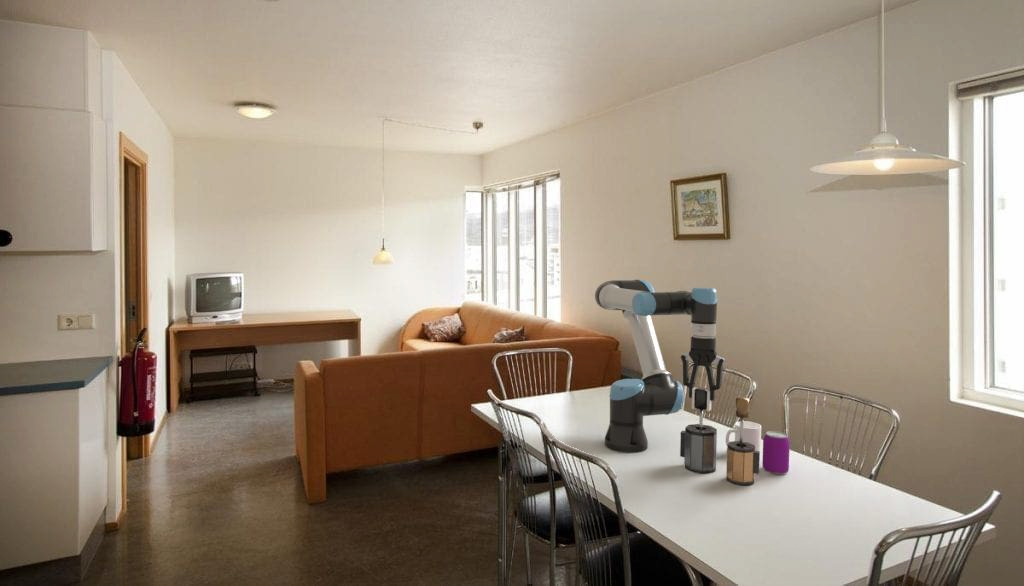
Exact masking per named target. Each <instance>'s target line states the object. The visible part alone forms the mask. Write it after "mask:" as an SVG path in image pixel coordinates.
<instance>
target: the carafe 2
mask: <svg viewBox="0 0 1024 586" xmlns="http://www.w3.org/2000/svg"><path fill="white" fill-rule="evenodd" d="M760 455H761V451H760V452H759V451H755V446H754V445H752V444H750V443H748V442H743V447H740V441H735V440H733V441H729V443H728V444H727V445H726V471H725V472H726V474H725V475H726V477H725V478H726V479H725V480H726V481H727V482H729V483H730V484H732V485H735V486H740V487H741V486H744V487H746V486H753V485H754V484H755V475H759V474H760V459H761V458H760Z"/></svg>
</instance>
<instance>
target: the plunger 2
mask: <svg viewBox="0 0 1024 586" xmlns="http://www.w3.org/2000/svg"><path fill="white" fill-rule="evenodd" d="M735 417H737V418H740V419H739V420H740V421H739V422H740V447H743V422H744V419H746V418H749V417H750V397H748V396H736V397H735Z"/></svg>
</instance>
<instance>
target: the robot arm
mask: <svg viewBox="0 0 1024 586" xmlns="http://www.w3.org/2000/svg"><path fill="white" fill-rule="evenodd" d="M594 299H595V302H596V304H597V305H598V307H599V308H601V309H604V310H608V311H621V312H622V315H623V317H624V318H625V319H627V320H628V323H629V326H630V327H629V328H630V330H631V334H632V339H633V342H634V345H635V350H636V353H637V357H638V360H639V365H640V369H641V372H642V377H641V379H639V378H623V379H619V380H616V381H614V382H613V383H612V384H611V385H610V388H609V389H610V390H609V391H610V392H609V424H608V428H607V430H606V434H605V435H604V436H605V437H604V446H605V448H607V449H609V450H612V451H615V452H620V453H631V454H632V453H641V452H643V451H646V450H647V449H648V448H649V447H648V446H649V445H648V444H649V440H648V438H647V433H646V431H645V427H644V417H647V416H648V417H650V416H660V415H666V416H668V415H670V414H676V413H678V412H680V410H681V409H682V407H683V404H684V399H685V393H684V387H683V386H685V387H688V398H690V399H691V410H695V409H696V408H695V389H696V388H698V387H695V386H696V385H695V384H696V381H697V376H698V372H699V369H700V367H701V366H702V367H704V368H705V370H706V371H705V372H706V376H707V383H708V387H709V389H708V391H707V409H706V412H710V411H711V410H712V401H714V400H715V399H716V391H717V390H720V389H721V388H722V385H723V384H722V383H723V382H722V381H723V369H724V368H723V367H724V364H725V361H726V358H725V357H721V356H719V355H718V354H717V351H716V345H717V343H716V342H717V340H716V339H717V338H716V337H715V336H716V335H717V310H718V309H717V307H718V297H717V289H716V288H714V287H704V286H702V287H701V286H698V287H697V286H696V287H694V288H692V290H691V292H690V291H687V290H677V291H665V292H663V291H662V292H655V288H654V287H653V285H652V284H651V283H650V282H649V281H647V280H645V279H644V280H643V279H634V280H632V279H628V280H627V279H626V280H614V279H613V280H607V281H605V282H602V283H601V284H599V286H598V287H597V288H596V290H595V291H594ZM677 315H679V316H680V315H681V316H682V315H683V316H684V315H687V316H691V317H690V318H691V321H690V324H691V325H690V335H691V336H690V350H689V352H688V353H684V354H681V355H680V359H681V361H682V382H683V383H682V384H683V385H682V384H681V382H680V381H678V380H676V379H674V377H673V374H672V373H671V372H669V371H667V367H666V364H665V362H664V357H663V353H662V349H661V347H660V344H659V340H658V335H657V333H656V330H655V326H654V322H653V319H652V316H677ZM690 358H691V360H692V362H693V365H692V371H691V375H690V371H689V369H690V368H689V366H690V364H689V360H690ZM715 360H716V364H717V366H716V375H715V376H716V380H715V378H714V372H713V362H714V361H715Z"/></svg>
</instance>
